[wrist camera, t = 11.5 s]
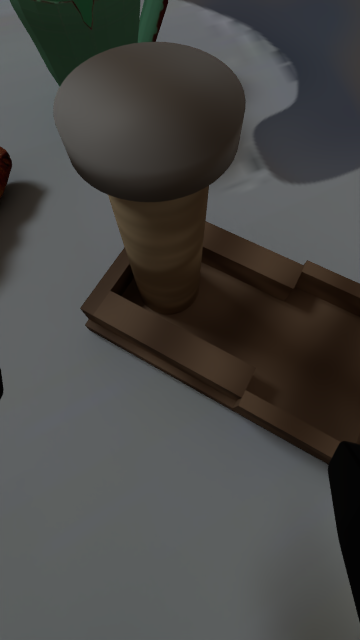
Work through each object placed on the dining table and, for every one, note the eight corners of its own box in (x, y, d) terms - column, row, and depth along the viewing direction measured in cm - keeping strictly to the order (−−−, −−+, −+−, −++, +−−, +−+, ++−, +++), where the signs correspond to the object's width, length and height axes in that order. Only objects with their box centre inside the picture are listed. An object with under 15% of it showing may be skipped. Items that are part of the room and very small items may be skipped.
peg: (174, 343, 20) (159, 207, 8) (109, 292, 22) (12, 110, 10) (227, 280, 22) (282, 88, 10) (163, 237, 24) (142, 22, 11)
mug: (105, 159, 28) (67, 20, 18) (34, 113, 30) (-33, -32, 21) (201, 77, 32) (209, -70, 22) (131, 42, 34) (113, -106, 25)
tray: (400, 331, 22) (433, 316, 19) (354, 478, 19) (384, 487, 16) (164, 221, 25) (162, 195, 23) (88, 329, 22) (75, 314, 19)
